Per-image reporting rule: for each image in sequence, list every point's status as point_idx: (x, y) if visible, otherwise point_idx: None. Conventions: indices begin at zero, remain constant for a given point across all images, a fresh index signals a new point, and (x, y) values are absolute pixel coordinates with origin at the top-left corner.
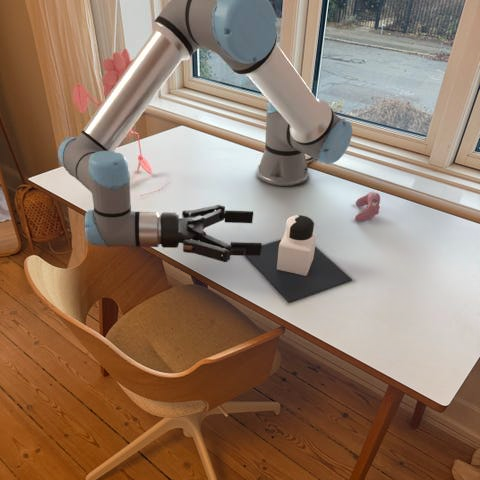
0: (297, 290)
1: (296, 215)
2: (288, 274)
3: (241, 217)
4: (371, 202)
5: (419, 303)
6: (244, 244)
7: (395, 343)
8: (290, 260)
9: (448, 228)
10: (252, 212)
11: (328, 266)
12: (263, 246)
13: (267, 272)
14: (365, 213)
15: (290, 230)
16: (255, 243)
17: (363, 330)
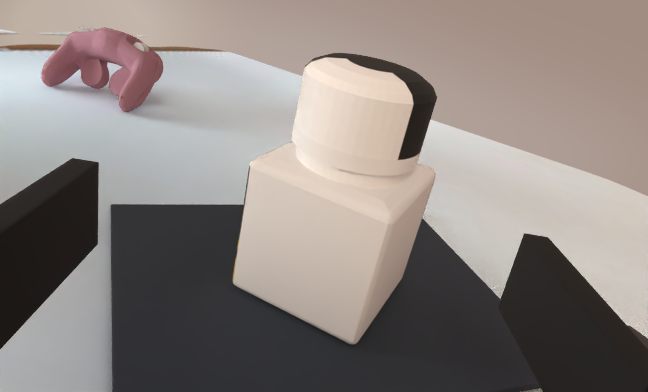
0: (492, 328)
1: (319, 61)
2: (387, 321)
3: (51, 243)
4: (132, 45)
5: (480, 168)
6: (610, 307)
7: (634, 237)
8: (394, 260)
9: (233, 67)
10: (88, 163)
11: None
12: (129, 338)
13: (371, 390)
14: (144, 77)
15: (411, 119)
16: (550, 255)
17: (618, 263)
